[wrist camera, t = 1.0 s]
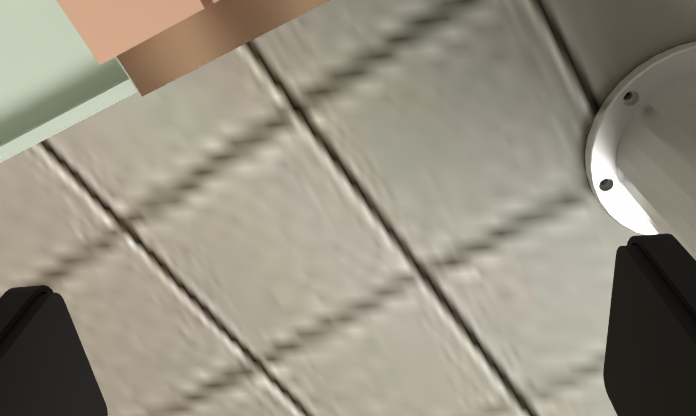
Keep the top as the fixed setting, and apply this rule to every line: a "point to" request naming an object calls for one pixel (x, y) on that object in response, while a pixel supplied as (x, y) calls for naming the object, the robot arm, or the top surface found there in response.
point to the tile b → (125, 21)
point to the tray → (49, 75)
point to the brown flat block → (205, 38)
